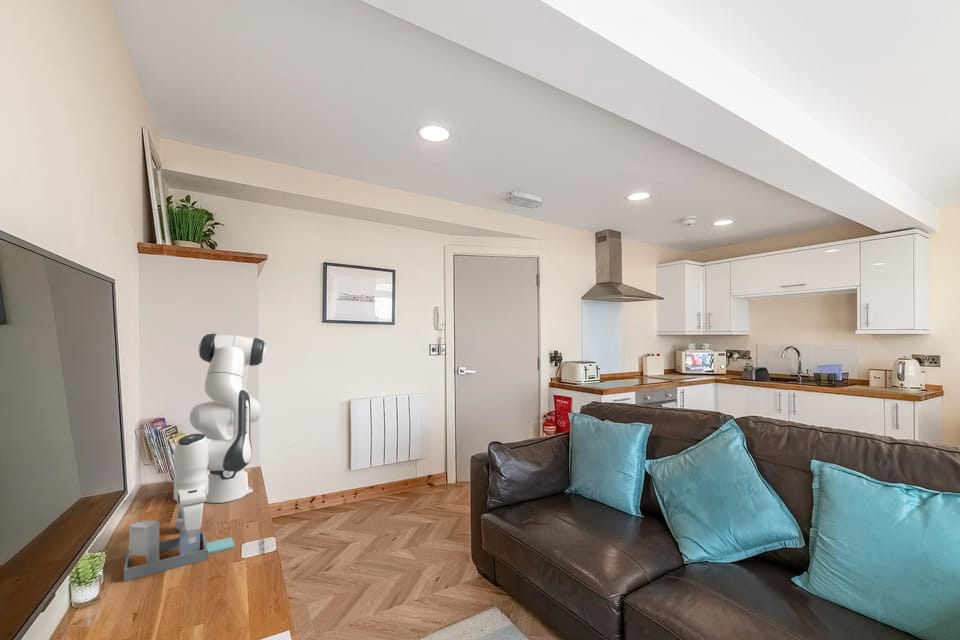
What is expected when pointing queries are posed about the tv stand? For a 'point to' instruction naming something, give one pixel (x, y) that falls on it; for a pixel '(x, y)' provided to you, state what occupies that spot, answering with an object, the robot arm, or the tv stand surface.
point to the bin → (166, 563)
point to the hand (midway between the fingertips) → (191, 536)
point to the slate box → (186, 546)
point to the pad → (220, 545)
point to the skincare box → (143, 543)
